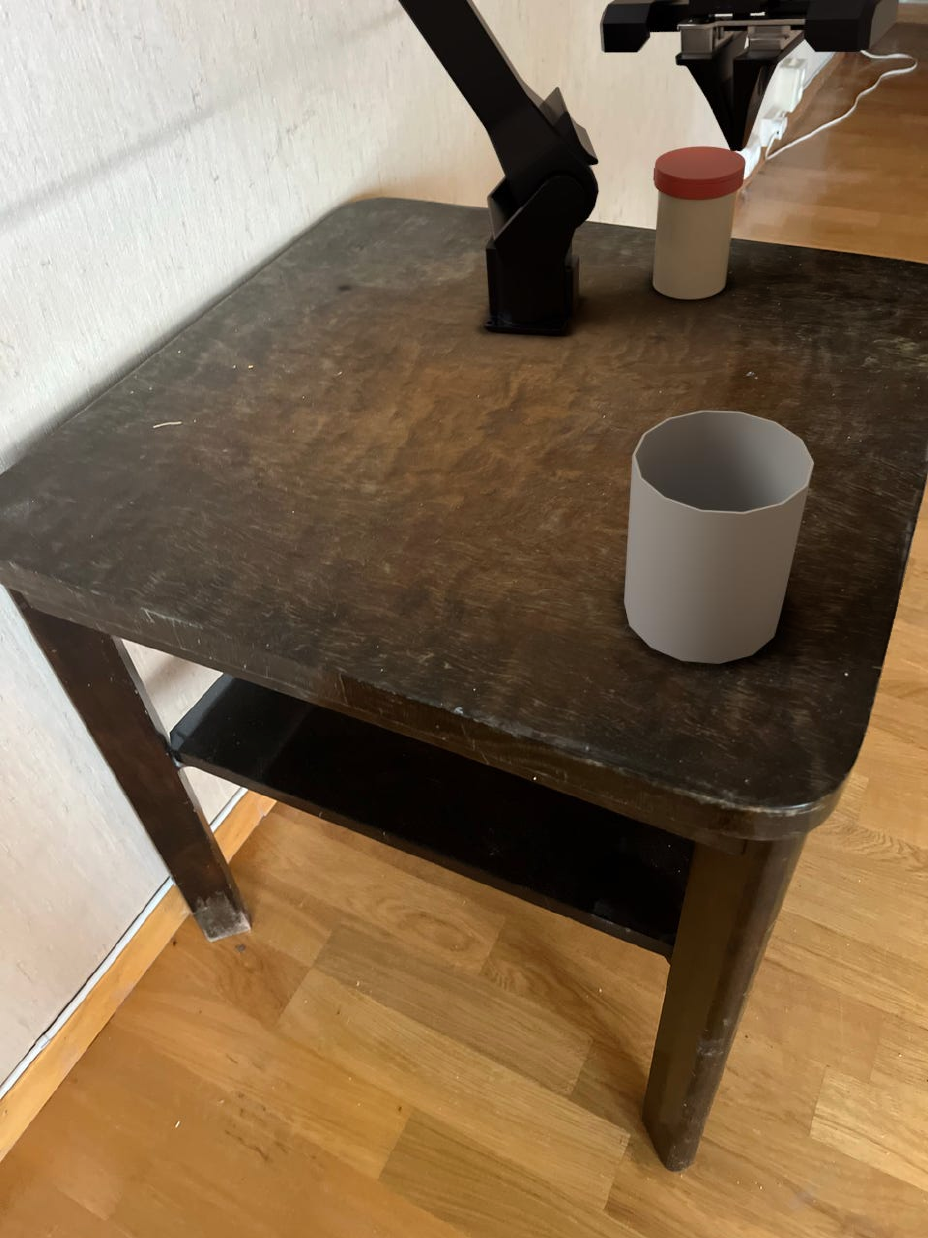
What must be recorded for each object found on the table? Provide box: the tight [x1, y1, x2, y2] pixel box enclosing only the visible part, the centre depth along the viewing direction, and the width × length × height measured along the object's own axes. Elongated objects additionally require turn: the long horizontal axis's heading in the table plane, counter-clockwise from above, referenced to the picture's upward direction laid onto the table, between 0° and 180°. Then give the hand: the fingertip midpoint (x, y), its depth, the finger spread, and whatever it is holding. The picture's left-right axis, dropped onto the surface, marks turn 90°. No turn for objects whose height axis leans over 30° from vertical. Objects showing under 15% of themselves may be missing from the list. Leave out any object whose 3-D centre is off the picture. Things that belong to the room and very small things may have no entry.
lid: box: [652, 145, 747, 199], centre depth 73 cm, size 7×7×2 cm
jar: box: [652, 190, 738, 300], centre depth 76 cm, size 6×6×9 cm
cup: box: [623, 410, 815, 665], centre depth 49 cm, size 8×8×10 cm
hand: (738, 148), depth 69 cm, fingers closed
